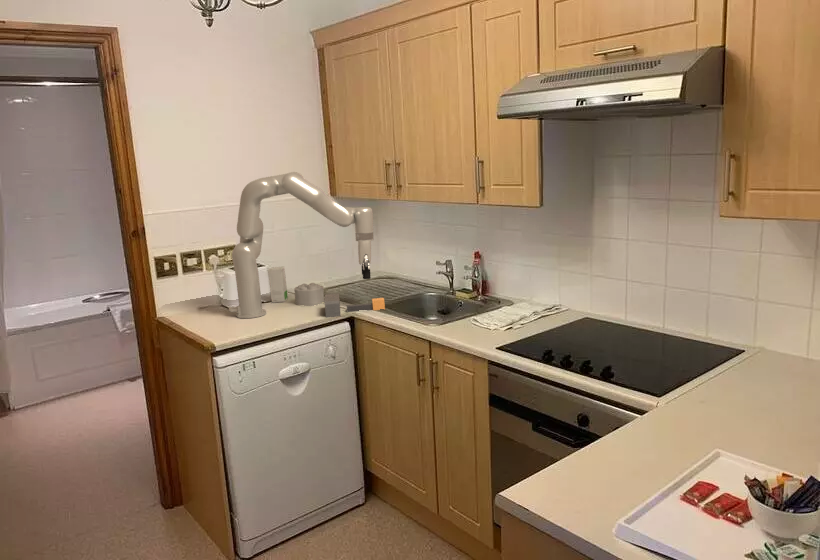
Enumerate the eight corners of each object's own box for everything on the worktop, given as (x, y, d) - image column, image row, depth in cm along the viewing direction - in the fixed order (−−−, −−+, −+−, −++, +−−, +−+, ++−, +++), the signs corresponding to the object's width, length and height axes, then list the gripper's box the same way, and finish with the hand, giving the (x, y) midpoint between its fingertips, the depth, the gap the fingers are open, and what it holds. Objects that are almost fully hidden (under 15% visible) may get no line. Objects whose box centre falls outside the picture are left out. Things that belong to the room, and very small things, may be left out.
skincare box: (284, 302, 299) (281, 269, 296) (270, 303, 299) (267, 270, 296) (288, 298, 308) (285, 265, 304) (274, 298, 308) (271, 266, 305)
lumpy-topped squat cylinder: (314, 306, 288) (313, 287, 286) (290, 305, 293) (288, 286, 292) (327, 301, 297) (325, 282, 295) (303, 299, 303) (301, 281, 301)
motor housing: (326, 317, 268) (324, 301, 266) (326, 309, 281) (325, 294, 280) (340, 316, 268) (339, 300, 267) (340, 308, 282) (338, 293, 281)
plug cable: (347, 312, 274) (346, 302, 273) (347, 310, 278) (346, 300, 277) (384, 309, 275) (384, 299, 274) (384, 307, 279) (383, 297, 278)
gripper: (354, 234, 281) (356, 273, 284) (356, 240, 264) (358, 281, 268) (372, 233, 282) (373, 272, 285) (374, 239, 265) (376, 280, 268)
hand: (366, 276), depth 276 cm, fingers open, 9 cm apart
